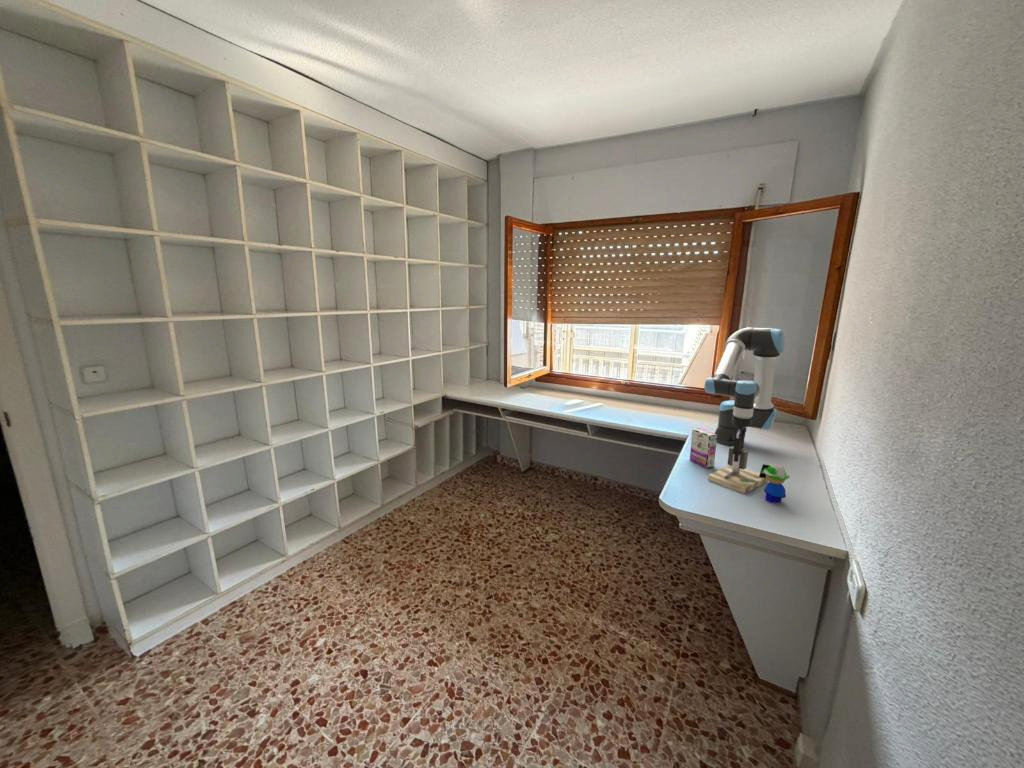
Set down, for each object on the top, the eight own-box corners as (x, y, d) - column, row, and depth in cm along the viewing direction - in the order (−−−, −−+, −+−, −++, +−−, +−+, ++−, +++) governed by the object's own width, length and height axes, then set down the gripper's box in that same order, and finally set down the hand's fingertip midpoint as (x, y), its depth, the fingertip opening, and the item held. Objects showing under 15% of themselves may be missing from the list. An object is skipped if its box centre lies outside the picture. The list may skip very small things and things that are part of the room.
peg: (729, 469, 188) (732, 446, 186) (745, 474, 183) (748, 451, 180) (717, 475, 182) (720, 451, 179) (733, 480, 176) (736, 456, 174)
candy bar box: (714, 466, 197) (718, 434, 193) (706, 468, 195) (710, 435, 192) (696, 458, 207) (699, 427, 204) (689, 459, 205) (691, 428, 202)
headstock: (731, 469, 194) (732, 464, 194) (767, 481, 181) (768, 475, 181) (707, 479, 183) (708, 474, 183) (744, 493, 170) (745, 487, 170)
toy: (775, 494, 170) (780, 460, 167) (791, 505, 161) (796, 469, 158) (754, 494, 170) (759, 460, 167) (768, 505, 161) (773, 469, 157)
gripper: (736, 410, 188) (730, 458, 193) (728, 419, 175) (723, 470, 180) (755, 413, 183) (748, 462, 188) (748, 422, 170) (742, 474, 175)
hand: (736, 466), depth 184 cm, fingers closed on peg, 3 cm apart
